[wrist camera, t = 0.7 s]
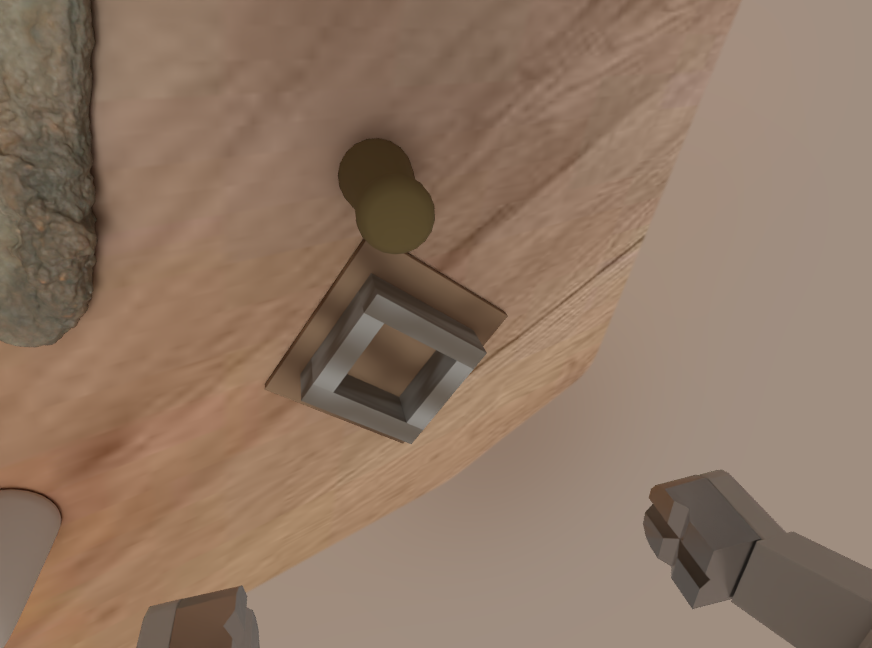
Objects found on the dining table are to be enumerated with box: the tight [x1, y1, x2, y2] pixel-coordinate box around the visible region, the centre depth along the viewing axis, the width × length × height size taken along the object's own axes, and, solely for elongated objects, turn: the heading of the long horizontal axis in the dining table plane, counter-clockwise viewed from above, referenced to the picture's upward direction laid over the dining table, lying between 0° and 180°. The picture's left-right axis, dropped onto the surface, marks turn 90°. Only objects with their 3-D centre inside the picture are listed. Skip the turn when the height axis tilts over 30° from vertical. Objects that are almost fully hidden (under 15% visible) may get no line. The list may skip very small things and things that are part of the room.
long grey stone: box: [0, 0, 98, 347], centre depth 33 cm, size 35×5×10 cm
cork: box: [338, 138, 435, 254], centre depth 37 cm, size 6×6×11 cm
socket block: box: [265, 239, 507, 444], centre depth 48 cm, size 18×16×5 cm
